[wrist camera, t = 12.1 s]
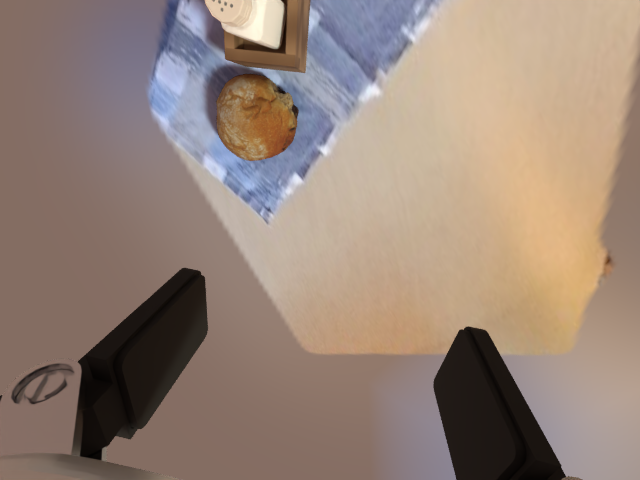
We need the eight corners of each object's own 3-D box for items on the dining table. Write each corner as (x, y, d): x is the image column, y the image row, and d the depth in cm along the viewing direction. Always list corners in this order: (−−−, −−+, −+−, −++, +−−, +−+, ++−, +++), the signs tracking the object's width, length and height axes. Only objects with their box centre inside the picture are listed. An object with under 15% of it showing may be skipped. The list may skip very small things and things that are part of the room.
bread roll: (244, 78, 38) (191, 71, 31) (305, 74, 33) (256, 66, 26) (251, 152, 42) (206, 160, 36) (305, 160, 37) (263, 170, 31)
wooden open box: (245, -11, 31) (221, -36, 25) (311, -6, 30) (299, -30, 25) (247, 66, 34) (225, 59, 28) (305, 73, 33) (294, 66, 28)
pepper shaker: (252, -7, 28) (199, -49, 19) (290, 5, 28) (252, -32, 19) (247, 40, 30) (196, 20, 21) (282, 51, 30) (244, 36, 21)
